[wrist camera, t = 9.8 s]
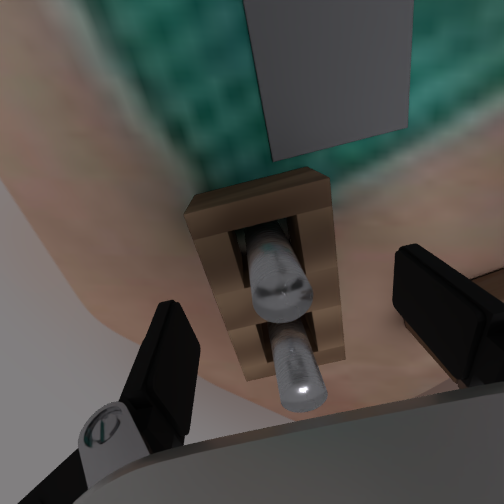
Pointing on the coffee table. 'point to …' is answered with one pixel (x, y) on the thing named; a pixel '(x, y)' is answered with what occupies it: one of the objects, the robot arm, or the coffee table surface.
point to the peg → (275, 274)
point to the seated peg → (296, 367)
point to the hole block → (236, 266)
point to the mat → (330, 70)
